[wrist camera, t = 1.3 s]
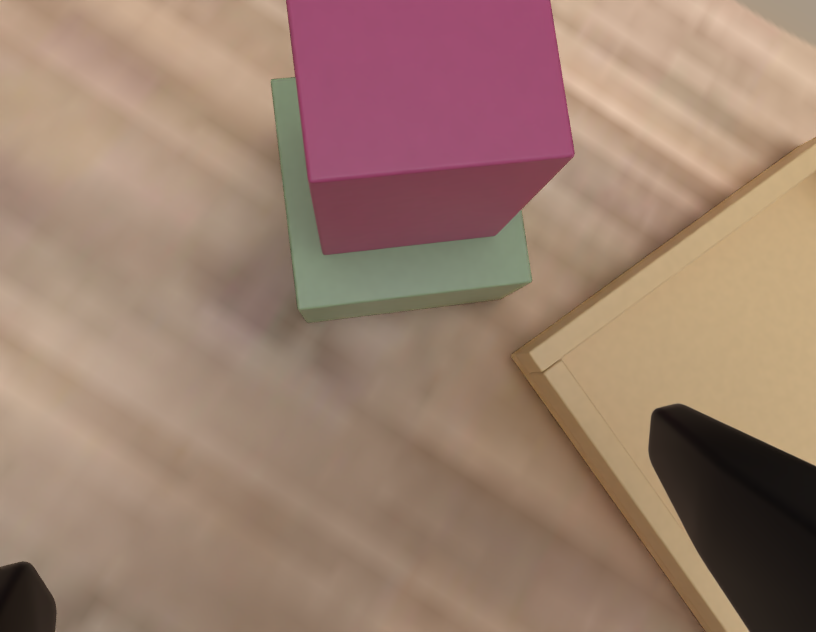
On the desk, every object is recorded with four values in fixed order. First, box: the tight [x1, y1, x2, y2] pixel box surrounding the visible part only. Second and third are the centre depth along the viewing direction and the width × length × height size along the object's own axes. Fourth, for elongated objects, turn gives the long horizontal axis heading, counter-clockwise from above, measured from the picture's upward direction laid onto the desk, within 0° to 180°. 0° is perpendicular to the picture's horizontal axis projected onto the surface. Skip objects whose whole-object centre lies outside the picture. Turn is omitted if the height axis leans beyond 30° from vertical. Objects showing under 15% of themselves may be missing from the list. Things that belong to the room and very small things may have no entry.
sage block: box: [271, 77, 532, 323], centre depth 22 cm, size 7×7×4 cm
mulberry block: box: [286, 0, 575, 255], centre depth 16 cm, size 4×5×7 cm
